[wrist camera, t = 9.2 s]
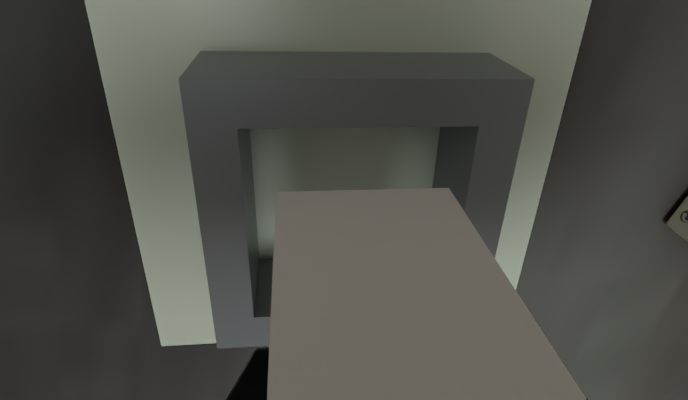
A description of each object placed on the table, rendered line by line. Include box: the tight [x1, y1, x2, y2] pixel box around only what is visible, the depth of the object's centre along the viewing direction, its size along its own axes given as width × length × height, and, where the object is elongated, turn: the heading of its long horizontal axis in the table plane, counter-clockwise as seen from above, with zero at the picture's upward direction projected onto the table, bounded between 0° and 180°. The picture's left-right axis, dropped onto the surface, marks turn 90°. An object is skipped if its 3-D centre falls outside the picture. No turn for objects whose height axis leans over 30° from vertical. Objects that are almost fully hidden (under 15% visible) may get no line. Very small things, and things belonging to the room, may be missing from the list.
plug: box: [267, 188, 587, 400], centre depth 8 cm, size 4×4×8 cm
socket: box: [84, 0, 592, 349], centre depth 15 cm, size 14×14×4 cm
